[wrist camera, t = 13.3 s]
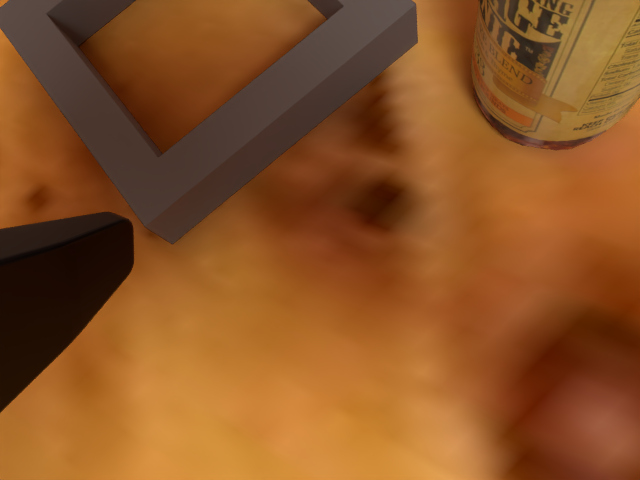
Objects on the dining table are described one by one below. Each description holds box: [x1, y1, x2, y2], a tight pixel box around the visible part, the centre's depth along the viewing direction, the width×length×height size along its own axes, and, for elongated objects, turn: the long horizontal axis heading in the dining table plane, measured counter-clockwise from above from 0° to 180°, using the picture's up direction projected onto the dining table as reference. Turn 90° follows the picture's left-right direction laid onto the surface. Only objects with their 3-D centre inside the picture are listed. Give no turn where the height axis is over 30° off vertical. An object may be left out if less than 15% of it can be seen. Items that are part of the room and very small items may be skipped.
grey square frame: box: [0, 0, 418, 244], centre depth 26 cm, size 14×14×2 cm
